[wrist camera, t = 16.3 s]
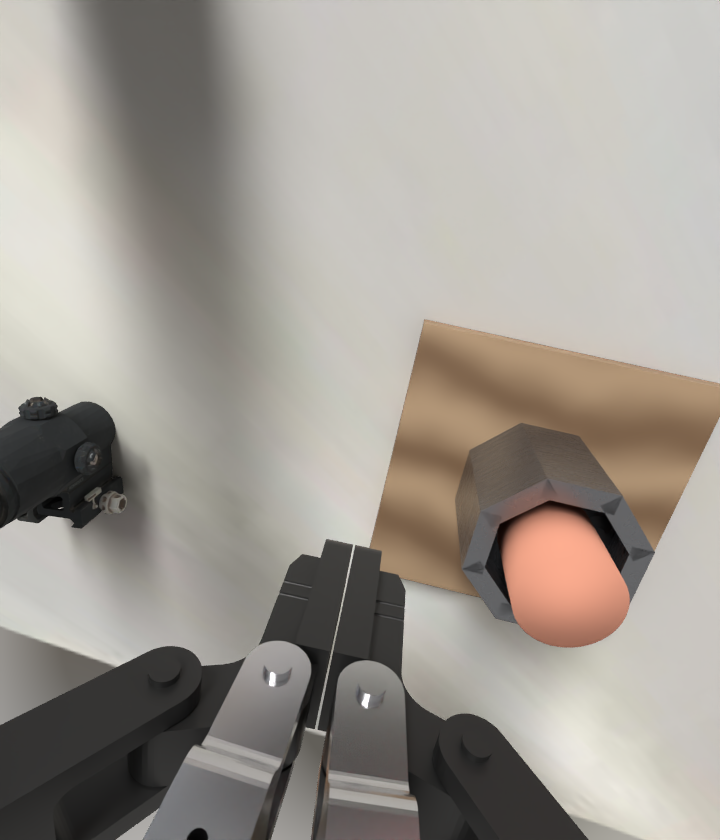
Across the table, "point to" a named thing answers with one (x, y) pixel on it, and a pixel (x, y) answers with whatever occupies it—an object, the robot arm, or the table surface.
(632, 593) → the grey octagonal cup
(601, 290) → the table surface
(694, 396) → the walnut board
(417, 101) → the table surface
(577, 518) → the salmon pink rounded cylinder
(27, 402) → the scope
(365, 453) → the table surface
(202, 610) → the table surface
